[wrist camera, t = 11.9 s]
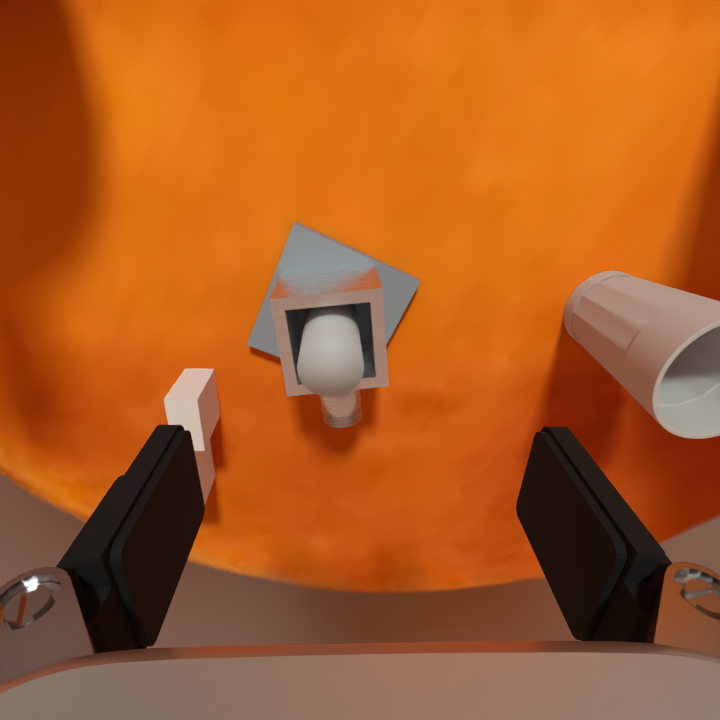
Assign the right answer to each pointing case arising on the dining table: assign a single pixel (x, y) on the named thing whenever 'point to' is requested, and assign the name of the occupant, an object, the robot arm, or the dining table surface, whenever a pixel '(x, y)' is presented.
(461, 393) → the dining table surface
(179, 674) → the robot arm
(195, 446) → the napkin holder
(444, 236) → the dining table surface
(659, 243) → the dining table surface
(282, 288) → the collar
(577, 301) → the cup
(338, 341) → the flange
